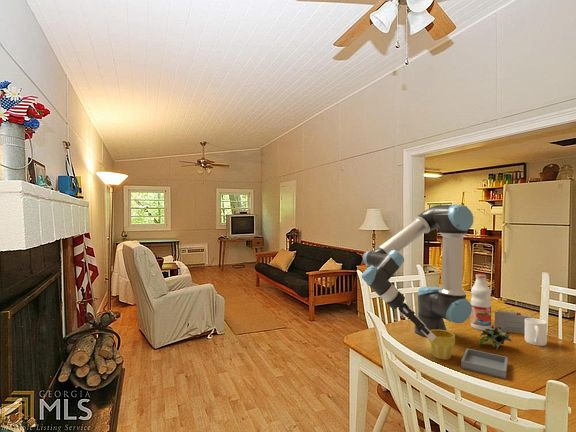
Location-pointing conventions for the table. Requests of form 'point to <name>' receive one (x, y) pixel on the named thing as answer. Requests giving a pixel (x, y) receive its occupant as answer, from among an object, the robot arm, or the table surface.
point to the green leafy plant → (494, 336)
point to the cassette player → (511, 321)
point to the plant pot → (442, 344)
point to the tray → (485, 363)
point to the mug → (535, 331)
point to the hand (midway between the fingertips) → (428, 332)
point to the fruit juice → (481, 304)
